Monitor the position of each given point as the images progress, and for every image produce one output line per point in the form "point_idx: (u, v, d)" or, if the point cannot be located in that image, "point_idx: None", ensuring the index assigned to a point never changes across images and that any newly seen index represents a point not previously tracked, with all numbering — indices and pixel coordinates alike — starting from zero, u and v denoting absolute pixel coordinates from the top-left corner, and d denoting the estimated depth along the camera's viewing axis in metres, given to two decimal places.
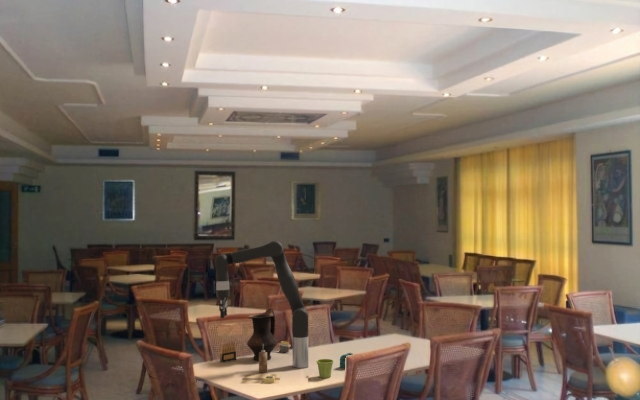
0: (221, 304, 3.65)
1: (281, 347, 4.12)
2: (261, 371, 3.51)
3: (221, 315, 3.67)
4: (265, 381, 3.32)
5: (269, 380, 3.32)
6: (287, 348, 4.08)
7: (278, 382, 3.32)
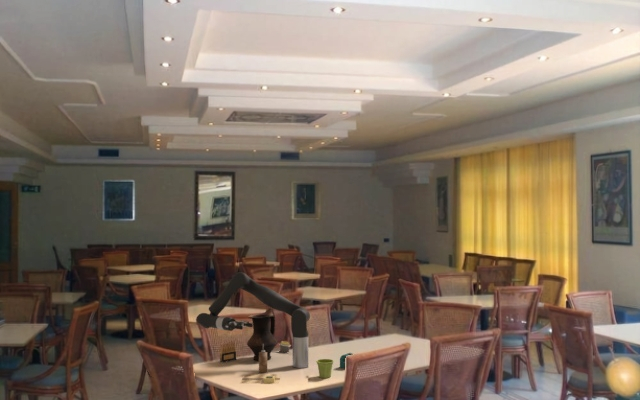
0: (228, 326, 3.59)
1: (281, 347, 4.12)
2: (261, 371, 3.51)
3: (238, 328, 3.57)
4: (265, 381, 3.32)
5: (269, 380, 3.32)
6: (287, 348, 4.08)
7: (278, 382, 3.32)
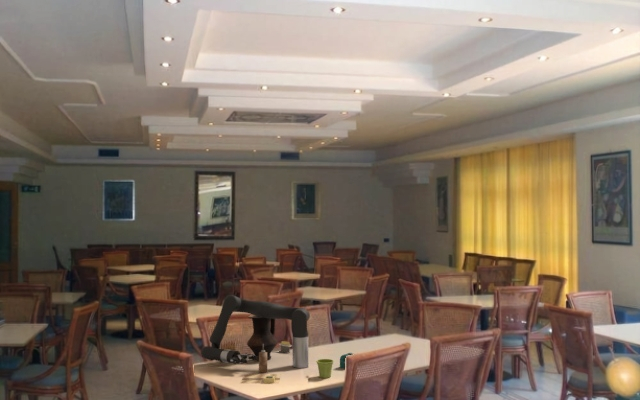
0: (233, 360, 3.56)
1: (282, 347, 4.12)
2: (261, 371, 3.51)
3: (243, 362, 3.54)
4: (265, 381, 3.32)
5: (269, 380, 3.32)
6: (288, 348, 4.08)
7: (278, 382, 3.32)
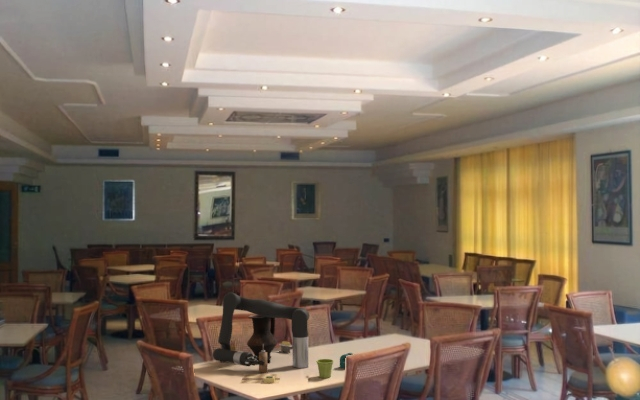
0: (248, 362, 3.51)
1: (282, 347, 4.11)
2: (261, 371, 3.51)
3: (260, 364, 3.50)
4: (265, 381, 3.32)
5: (269, 380, 3.32)
6: (288, 348, 4.08)
7: (278, 382, 3.32)
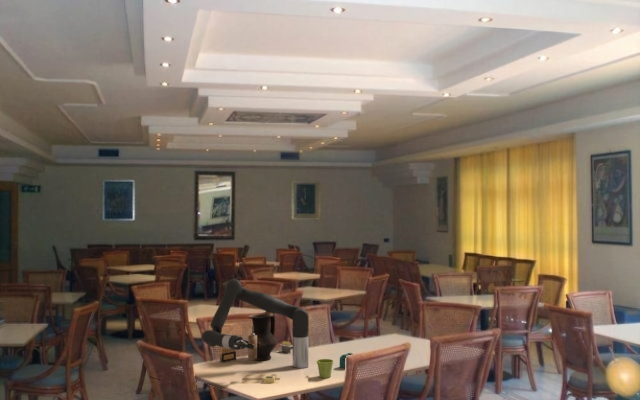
0: (237, 345, 3.37)
1: (283, 347, 4.11)
2: (250, 355, 3.38)
3: (249, 347, 3.36)
4: (265, 381, 3.32)
5: (269, 380, 3.32)
6: (289, 348, 4.07)
7: (278, 382, 3.32)
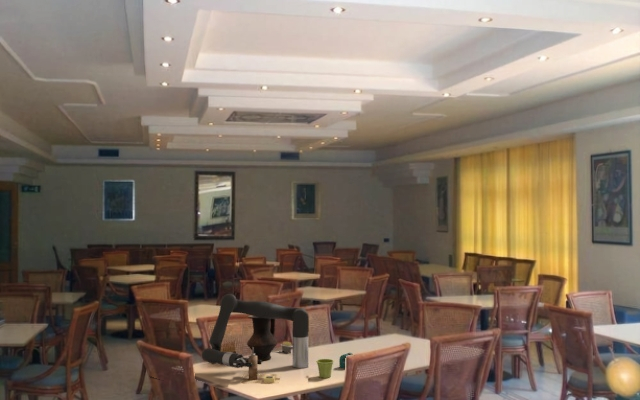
0: (236, 364, 3.37)
1: (283, 347, 4.11)
2: (251, 375, 3.37)
3: (248, 366, 3.35)
4: (265, 381, 3.32)
5: (269, 380, 3.32)
6: (289, 348, 4.07)
7: (278, 382, 3.32)
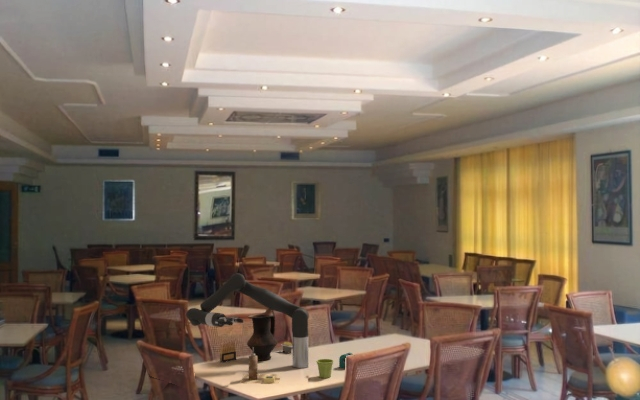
0: (217, 322, 3.47)
1: (284, 348, 4.10)
2: (251, 375, 3.37)
3: (228, 324, 3.45)
4: (265, 381, 3.32)
5: (269, 380, 3.32)
6: (290, 349, 4.07)
7: (278, 382, 3.32)
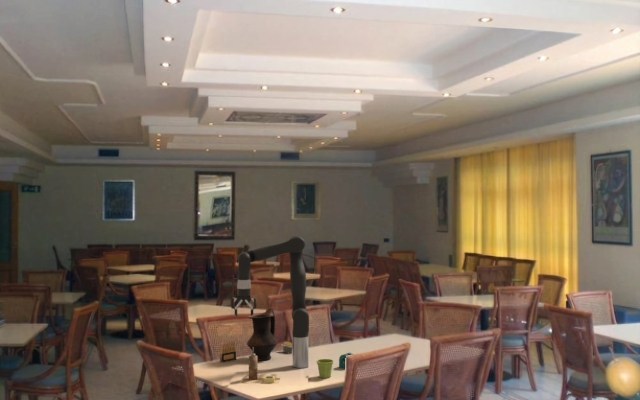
0: None
1: (284, 348, 4.10)
2: (251, 375, 3.37)
3: None
4: (265, 381, 3.32)
5: (269, 380, 3.32)
6: (290, 349, 4.06)
7: (278, 382, 3.32)
